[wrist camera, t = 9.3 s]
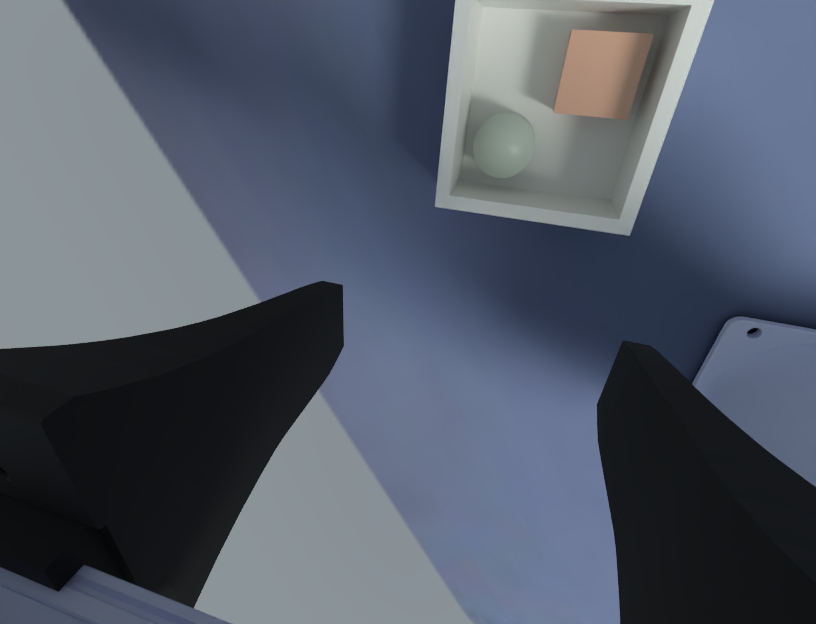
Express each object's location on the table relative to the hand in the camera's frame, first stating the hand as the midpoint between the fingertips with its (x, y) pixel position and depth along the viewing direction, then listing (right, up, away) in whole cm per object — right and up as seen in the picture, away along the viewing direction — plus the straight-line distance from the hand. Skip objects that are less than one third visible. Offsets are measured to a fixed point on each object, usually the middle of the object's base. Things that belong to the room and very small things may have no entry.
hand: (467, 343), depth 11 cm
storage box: (+4, +9, +5) cm, 11 cm away
